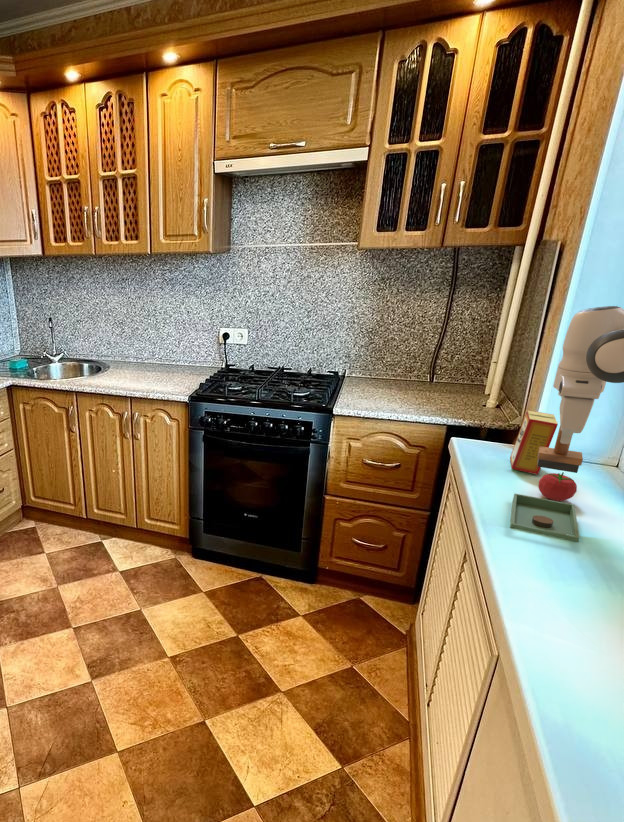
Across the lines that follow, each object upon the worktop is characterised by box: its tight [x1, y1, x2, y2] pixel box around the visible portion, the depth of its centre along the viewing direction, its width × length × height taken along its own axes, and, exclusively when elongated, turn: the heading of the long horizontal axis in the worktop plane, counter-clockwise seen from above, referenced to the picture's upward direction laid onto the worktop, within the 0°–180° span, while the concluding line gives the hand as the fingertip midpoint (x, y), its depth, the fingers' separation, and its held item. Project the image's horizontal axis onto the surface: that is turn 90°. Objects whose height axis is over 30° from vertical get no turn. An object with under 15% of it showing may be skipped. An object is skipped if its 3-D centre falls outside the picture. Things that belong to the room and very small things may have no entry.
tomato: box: [537, 471, 578, 502], centre depth 135 cm, size 8×8×8 cm
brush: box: [537, 427, 584, 474], centre depth 121 cm, size 8×5×11 cm, turn 54°
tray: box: [509, 493, 580, 543], centre depth 124 cm, size 19×12×3 cm, turn 145°
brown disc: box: [532, 516, 554, 528], centre depth 123 cm, size 4×4×1 cm
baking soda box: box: [509, 409, 559, 475], centre depth 153 cm, size 10×6×16 cm
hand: (564, 440), depth 121 cm, fingers closed on brush, 2 cm apart
